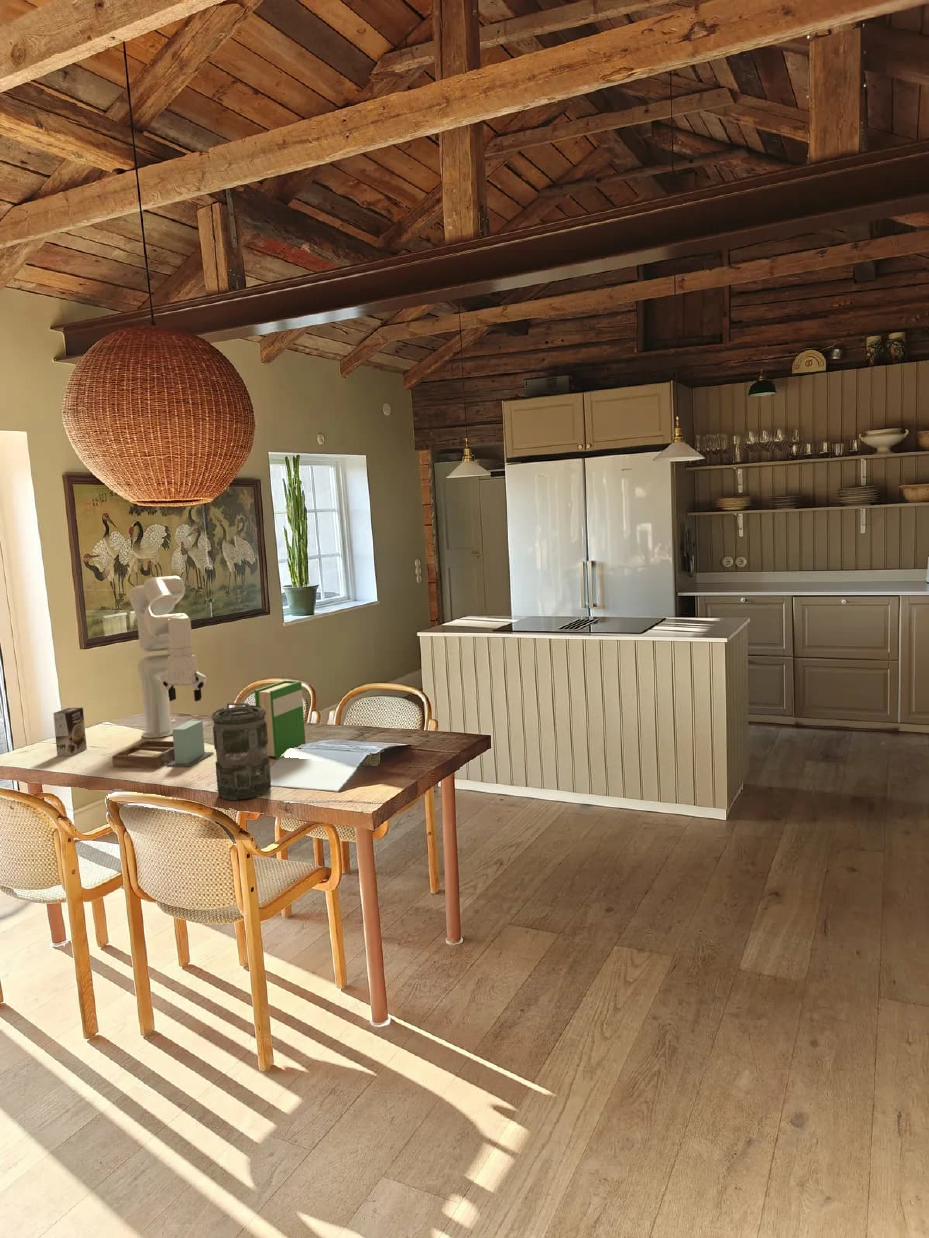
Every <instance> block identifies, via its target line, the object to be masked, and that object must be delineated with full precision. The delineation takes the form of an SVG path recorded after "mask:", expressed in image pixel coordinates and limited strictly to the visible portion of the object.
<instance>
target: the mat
mask: <svg viewBox="0 0 929 1238" xmlns="http://www.w3.org/2000/svg"><path fill="white" fill-rule="evenodd" d="M213 753H214V752H213V751H210V752H209V751H205V754H204V755H202V756H200V757H198V758H196V759H194V760H193V761H191V762H189V763H187V764H186V763H175V760H172V761H171V762H169V763H167V764H165V765H166V768H167V767H169V766H170V768H172V767H175V768H177V767H178V768H192V767H193V766H195V765H196V764H195V763H197V764H199V763H200V762H202V761H203V759H204V760H205V758H206V757H207V756H209V757H210V755H211V754H213ZM213 755H214V754H213ZM211 756H212V755H211ZM207 758H208V757H207ZM207 758H206V759H207ZM201 760H202V761H201ZM199 761H200V762H199ZM198 762H199V763H198ZM194 764H195V765H194ZM192 765H193V766H192ZM171 766H172V767H171Z"/></svg>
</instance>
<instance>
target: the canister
mask: <svg viewBox="0 0 929 1238" xmlns="http://www.w3.org/2000/svg"><path fill="white" fill-rule="evenodd" d="M230 706H233V707H230ZM265 714H266V712H265V710H264V709H261V707H260V706H256V705H252V704H251V705H250V704H249V703H248V702H228V703H227V704H226V708H224V707H223V708H220V709H218V710H216V711H214V712H213V713H212V716H211V719H212V720H213V726H212V733H213V735H212V736H213V745H214V746H213V747H214V750H215V754H216V755H215V756H216V761H215V773H216V774H215V775H216V786H217V795H219V796H221V798H222V799H224V800H228V801H239V800H246V799H251V798H256V797H259V796H258V795H262V794H264V795H266V794H268V793H269V792H270V791H269V790H271V788H272V785H271V783H272V780H271V777H272V776H271V767H270V756H267V744H268V737H267V722H266V721H265ZM268 791H269V792H268ZM267 792H268V793H267ZM255 796H256V797H255ZM262 796H263V795H262Z"/></svg>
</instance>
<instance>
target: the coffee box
mask: <svg viewBox="0 0 929 1238" xmlns="http://www.w3.org/2000/svg"><path fill="white" fill-rule="evenodd" d="M52 714H53V723H54V733H55V734H54V736H55V743H56V744H55V745H56V747H55V748H56V755H57V756H68V757H70V756H74V755H77V754H78V753H81V751H82V752H84V751H86V750H87V736H86V728H85V717H84V707H66V708H65V709H62V710H58V711H55V712H53V713H52ZM85 749H86V750H85ZM83 750H84V751H83ZM76 753H77V754H76Z"/></svg>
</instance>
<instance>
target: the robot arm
mask: <svg viewBox="0 0 929 1238" xmlns="http://www.w3.org/2000/svg"><path fill="white" fill-rule="evenodd" d="M185 592H186V587H185V583H184V581H183V579H182V578H181V577H180V576H178V575H168V576H167V575H165V576H154V577H151V578H148V579H147V580H146V581H145V582H144V583H143V584H142V585H138V586H137V585H136V586H133V587H132V588H131V589H130V591H129V601H130V605H131V607H132V610H133V611H134V614H135V617H136V619H137V620H136V621H137V631H138V633H137V634H138V641H139V646H140V649H141V650H142V651H143V652H145V653H155V652H163V651H165V652H166V653H160V654H152V655H146V656H143V657H142V658H140V659H139V660H138V661H137V670H138V672H137V673H138V675H139V680H140V684H141V690H142V702H143V713H144V723H145V725H144V726H145V730H144V731H142V733H141V736H142V737H143V738H146V739H155V738H158V739H159V738H163V737H164V736H165V737H170V736H173V731H172V729H174V728H175V727H173V725H175V724H177V720H176V719H174V718H173V719H171V708H170V702H172V701H175V700H176V699H177V692H176V691H177V690H176V688H175V686H192V687H193V688H194V690H193V694H194V695H193V696H194V702H198V701H201V699H202V689H203V687H204V686H205V684H206V682H207V679H208V676H206V675H205V674H203V673H200V672H199V667H198V666H199V665H198V661H197V659H196V654H194V648H193V638H192V636H193V635H192V623H191V618H190V617H189V616H188V615H187V613H183V612H179V613H171V612H172V611H173V610H174V608H175V607H176V604H178V603H179V602H180V601H181V600H182V599H183V598H184V595H185ZM165 737H164V738H165Z"/></svg>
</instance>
